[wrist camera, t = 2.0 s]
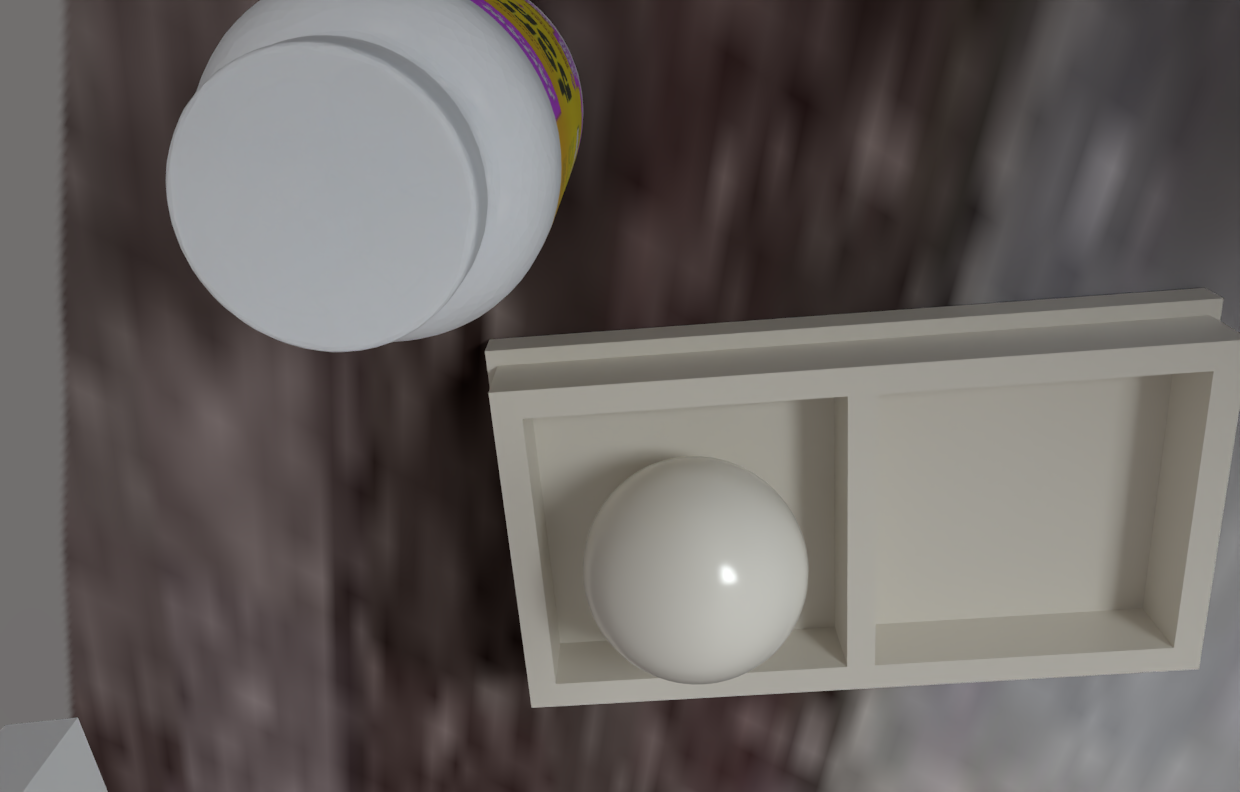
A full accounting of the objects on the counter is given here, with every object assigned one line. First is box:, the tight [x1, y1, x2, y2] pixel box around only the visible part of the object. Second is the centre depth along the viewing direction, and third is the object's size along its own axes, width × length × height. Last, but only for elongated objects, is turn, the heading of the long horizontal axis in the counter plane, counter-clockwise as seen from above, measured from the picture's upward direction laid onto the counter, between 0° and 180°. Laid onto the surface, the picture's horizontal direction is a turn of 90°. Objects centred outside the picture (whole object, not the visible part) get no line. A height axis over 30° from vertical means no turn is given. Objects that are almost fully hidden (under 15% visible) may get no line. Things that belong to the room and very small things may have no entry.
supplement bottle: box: [166, 0, 583, 352], centre depth 21 cm, size 7×7×13 cm
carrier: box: [485, 288, 1240, 708], centre depth 30 cm, size 20×11×3 cm, turn 95°
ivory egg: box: [583, 456, 809, 685], centre depth 28 cm, size 6×6×6 cm
